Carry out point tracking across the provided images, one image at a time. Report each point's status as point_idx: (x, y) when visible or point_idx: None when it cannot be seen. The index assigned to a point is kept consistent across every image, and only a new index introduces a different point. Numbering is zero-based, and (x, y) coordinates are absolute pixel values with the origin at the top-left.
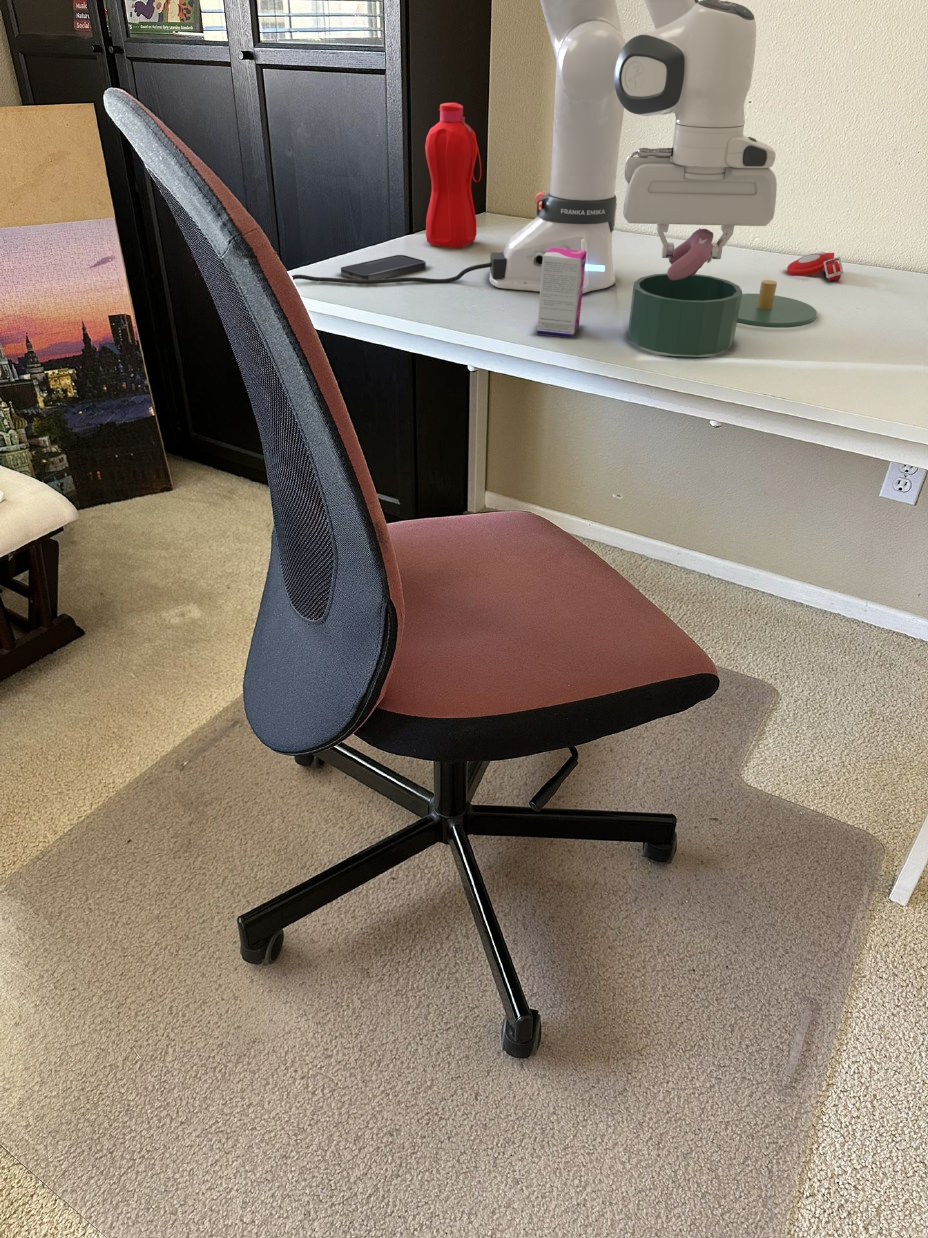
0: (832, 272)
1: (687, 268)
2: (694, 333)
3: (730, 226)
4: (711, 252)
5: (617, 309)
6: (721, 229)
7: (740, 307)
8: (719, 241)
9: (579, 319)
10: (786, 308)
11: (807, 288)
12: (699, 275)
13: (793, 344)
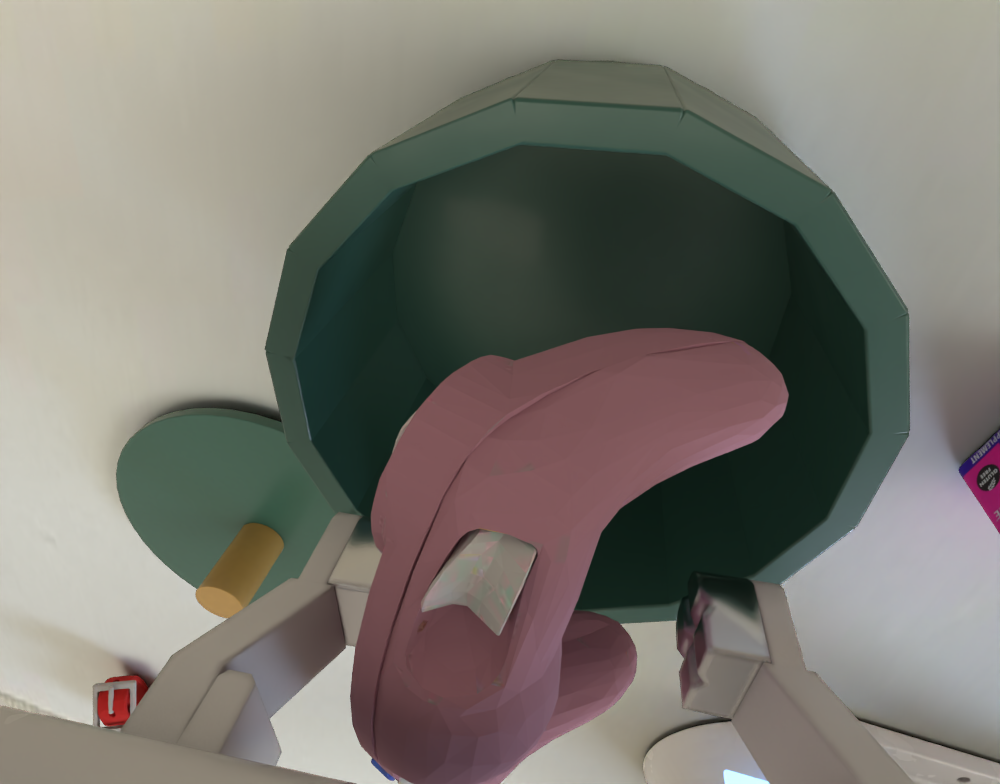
0: (118, 691)
1: (641, 343)
2: (573, 72)
3: (159, 730)
4: None
5: None
6: (274, 742)
7: None
8: (316, 636)
9: (974, 486)
10: (201, 526)
11: None
12: None
13: (163, 271)
